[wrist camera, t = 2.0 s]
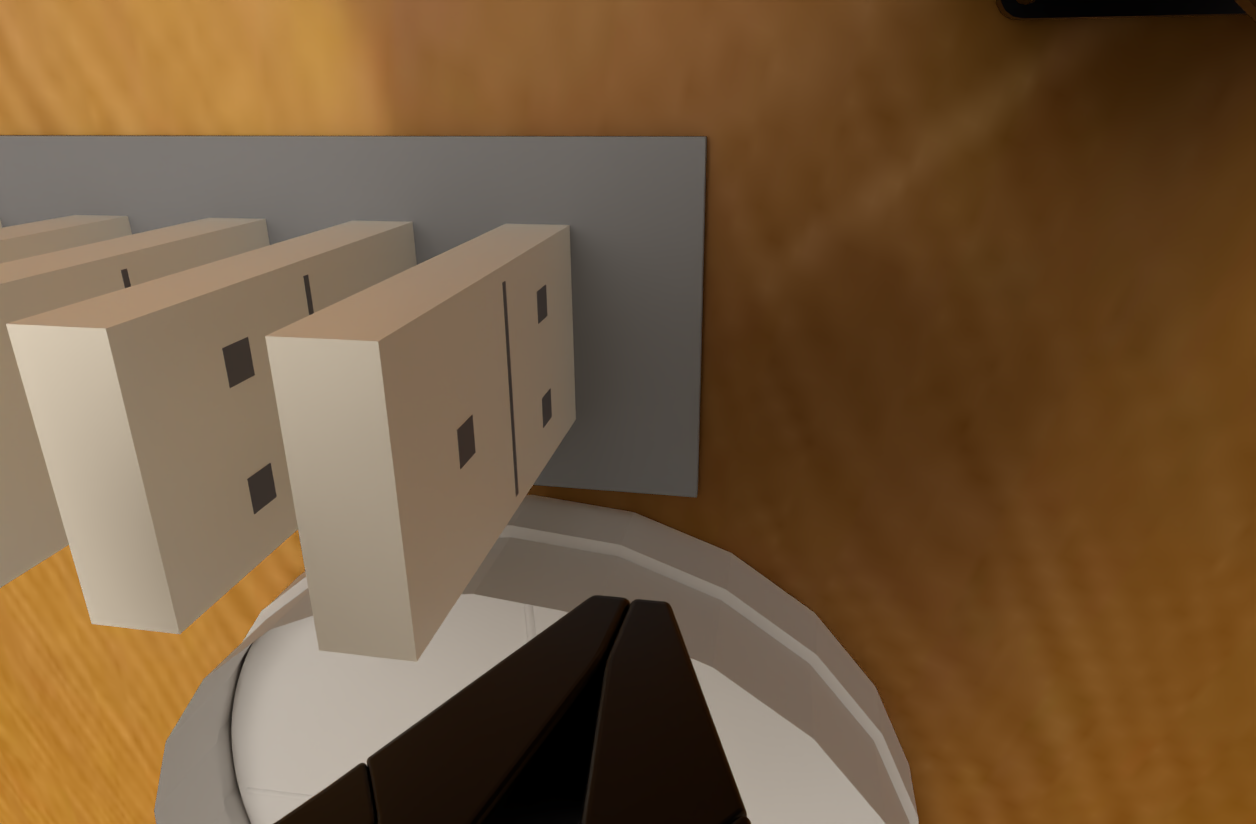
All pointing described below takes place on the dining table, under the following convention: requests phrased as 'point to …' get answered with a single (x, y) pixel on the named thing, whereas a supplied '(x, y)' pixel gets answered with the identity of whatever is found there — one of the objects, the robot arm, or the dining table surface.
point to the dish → (506, 620)
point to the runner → (443, 219)
